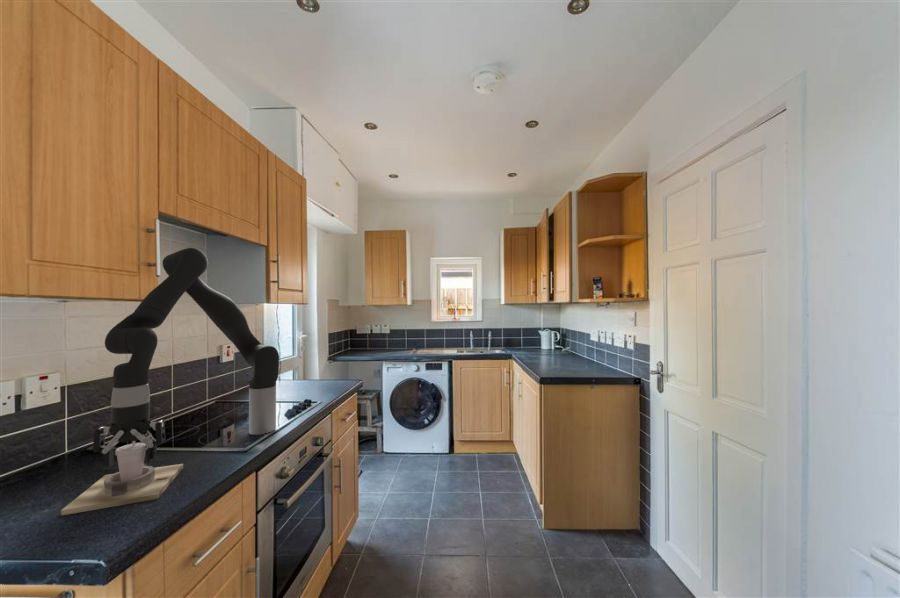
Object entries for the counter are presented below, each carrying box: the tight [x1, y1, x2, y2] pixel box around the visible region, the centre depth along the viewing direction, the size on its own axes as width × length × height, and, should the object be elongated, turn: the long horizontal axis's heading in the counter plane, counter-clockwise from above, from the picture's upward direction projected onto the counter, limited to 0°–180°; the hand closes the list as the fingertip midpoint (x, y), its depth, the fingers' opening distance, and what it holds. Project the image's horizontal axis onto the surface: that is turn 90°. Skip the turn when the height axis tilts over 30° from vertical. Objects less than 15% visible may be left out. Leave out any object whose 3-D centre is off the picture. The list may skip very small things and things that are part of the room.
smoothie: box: [114, 441, 149, 481], centre depth 91 cm, size 6×6×14 cm
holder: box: [60, 463, 184, 516], centre depth 91 cm, size 18×18×4 cm
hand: (130, 463), depth 91 cm, fingers open, 8 cm apart
